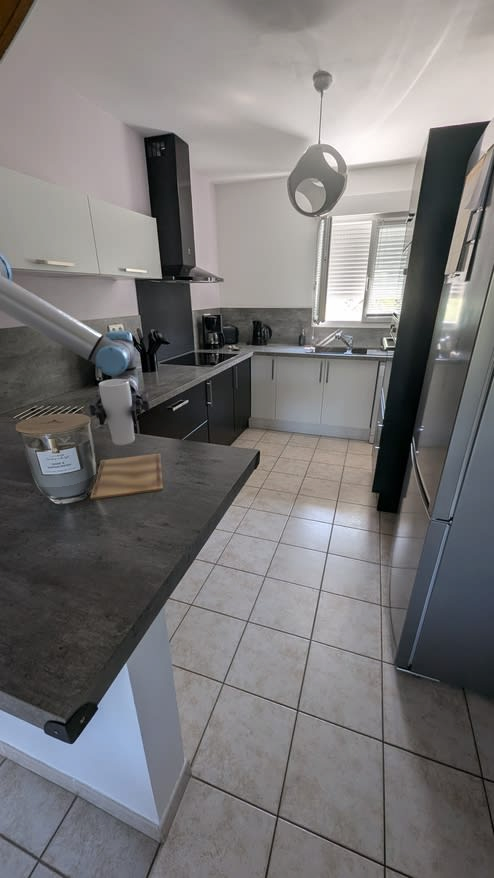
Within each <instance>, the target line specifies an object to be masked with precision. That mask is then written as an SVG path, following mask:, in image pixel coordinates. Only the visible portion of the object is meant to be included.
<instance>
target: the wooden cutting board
mask: <svg viewBox="0 0 494 878" xmlns="http://www.w3.org/2000/svg"><path fill="white" fill-rule="evenodd" d="M97 472H98V475H97V474H96V476H97V480H96V483H95V482H94V483H95V484H94V483H93V486H92V490H91V494H90V497H89V498H90V500H91V501H92V500H100V499H107V498H115V497H122V496H128V495H135V494H136V495H137V494H143V493H152V492H158V491H164V490H163V489H164V488H163V474H162V473H163V472H162V459H161V453H153V454H143V455H135V456H126V457H117V458H110V459H109V458H108V459H102V460H100V463H99V466H98V468H97Z"/></svg>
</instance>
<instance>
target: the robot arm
mask: <svg viewBox="0 0 494 878" xmlns="http://www.w3.org/2000/svg"><path fill="white" fill-rule="evenodd" d="M12 279H13V272H12V268H11V266H10V264H9V262H8V260H7V259H6V258H5V257H4V255H3V254H2V253H0V312H1V313H3V314H5V315H6V316H8V317H10V318H11V319H14V320H15V321H17V322H19V323H20V324H22V325H24V326H26V327H28V328H30V329H31V330H33V331H35V332H37V333H39V334H41V335H43V336H44V337H45V338H48V339H49V340H51V341H53V342H55V343H57V344H59V345H60V346H62V347H64V348H66V349H68V350H70V351H71V352H73V353H74V354H76V355H78V356H80V357H82V358H83V359H86V360H88V361H89V362H91V363H93V364H94V365H96V367H97V368H98V370H99V371H100V372H101V373H102V374H105V375H107V376H110V377H111V380H112V379H126V380H128V381H129V385H130V390H131V396H132V408H131V413H132V420H133V423H136V422H137V419H138V418H137V417H138V415H142V412H143V411H145V412H148V411H150V405H149V401H150V400H149V399H150V398H149V391H143V392H140V393H139V388H140V387H139V386H140V378H139V377H138V369H137V365H136V364H137V363H136V357H135V356H136V355H135V347H134V344H135V343H134V340H133V336H132V335H133V334H132V333H131V332H130V331H129V330H113V331H112V330H111V331H107V332H106V333H105V334H104V335H103V334H102V333H100V332H98V331H96V330H95V329H93V328H91V327H90V326H88V325H87V324H84V323H83V322H82V321H80V320H78V319H76V318H75V317H73V316H72V315H69V314H68V313H67V312H65V311H63V310H61V309H59V308H58V307H56V306H54V305H53V304H51V303H49V302H48V301H46V300H44V299H42V298H40V297H39V296H37V295H36V294H35V293H33V292H31V291H29V290H27V289H26V288H24V287H22V286H20V285H19V284H17V283H15V282H14V281H13V280H12ZM88 407H89V413H90V416H92V417H93V416H95V417H96V419H98V421H99V422H98V423H99V425H100V426H104V425H105V422H106V421H107V419H106V415H105V412H104V408H103V405H102V401H101V396H100V394H96V395H95V396H94V399H93V400H92V402H91V403H90V404H89V406H88Z"/></svg>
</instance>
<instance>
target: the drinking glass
mask: <svg viewBox="0 0 494 878" xmlns="http://www.w3.org/2000/svg"><path fill="white" fill-rule="evenodd" d="M98 388H99V390H98V391H99V395H100V396H101V401H102V405H103V408H104V412H105V415H106V422H107V425H108V429H109V432H110V437H111V441H112V443H113V445H116V446H127V445H130V444H132V443H134V442H135V440H136V435H135V428H134V426H135V425H134V422H133V420H132V413H131V408H132V396H131V390H130V385H129V381H128V380H126V379H112V378H111V379H106V380H102V381H100V382H99V383H98Z"/></svg>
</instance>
